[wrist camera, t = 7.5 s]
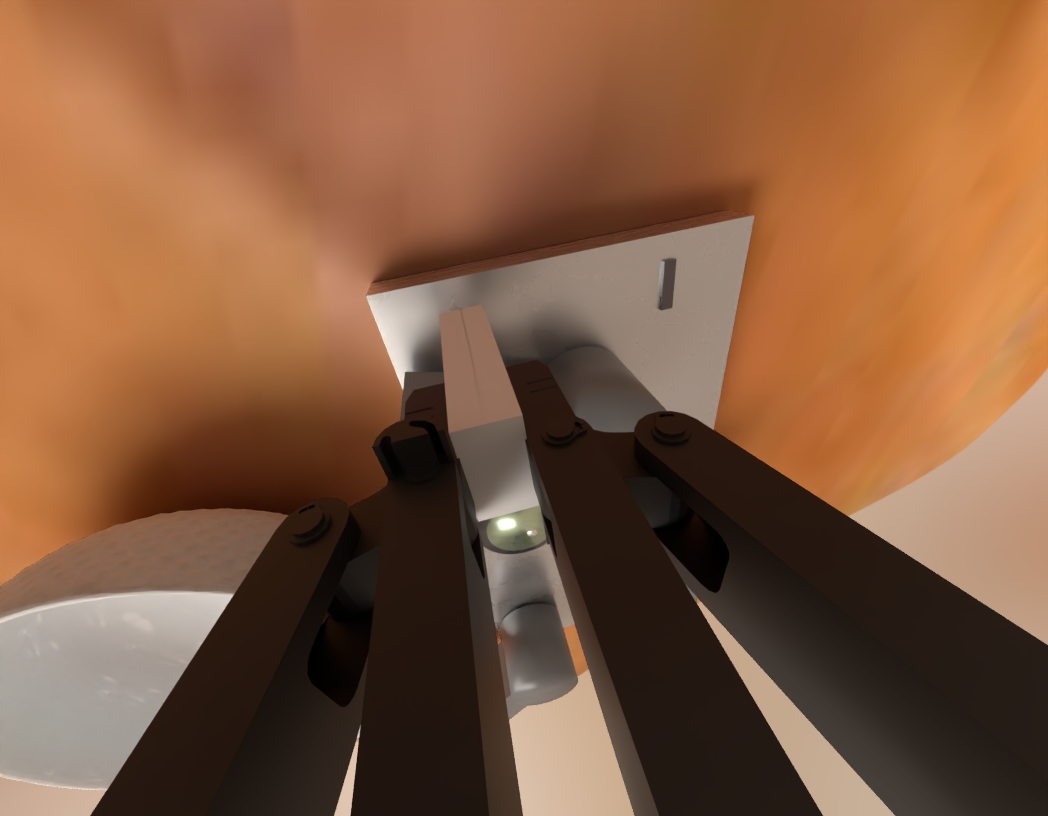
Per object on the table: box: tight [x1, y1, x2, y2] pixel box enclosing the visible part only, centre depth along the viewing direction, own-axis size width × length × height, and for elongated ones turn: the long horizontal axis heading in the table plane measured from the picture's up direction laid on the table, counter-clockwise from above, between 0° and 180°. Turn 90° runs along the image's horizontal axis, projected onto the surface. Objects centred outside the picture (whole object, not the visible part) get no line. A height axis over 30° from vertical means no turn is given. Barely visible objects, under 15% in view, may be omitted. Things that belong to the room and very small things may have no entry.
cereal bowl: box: [0, 508, 361, 790], centre depth 19 cm, size 17×17×7 cm
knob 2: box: [498, 604, 578, 719], centre depth 27 cm, size 10×4×4 cm, turn 143°
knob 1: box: [401, 346, 667, 432], centre depth 15 cm, size 10×4×4 cm, turn 83°
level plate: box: [366, 210, 755, 641], centre depth 23 cm, size 28×15×2 cm, turn 8°
